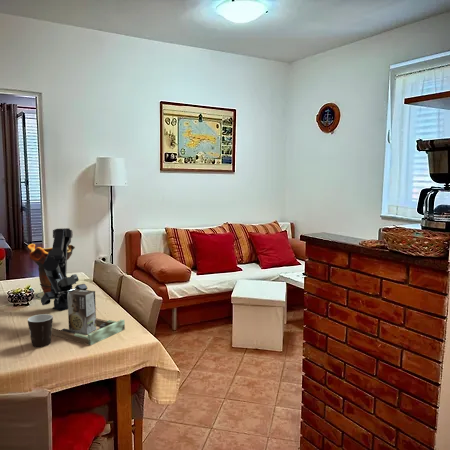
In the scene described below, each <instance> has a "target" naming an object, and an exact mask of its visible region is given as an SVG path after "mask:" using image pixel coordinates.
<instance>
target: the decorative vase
mask: <svg viewBox="0 0 450 450" xmlns="http://www.w3.org/2000/svg"><path fill="white" fill-rule="evenodd" d="M27 249H28V250H29V251H28V252H29V260H31V261H33V262H34V263H35V264H36V265H37V267H38V269H37V270H38V277H39V282H40V283H39V285H40V287H41V288H40V290H39V291H40V292H37V293H35V294H34V295H33V296H34V298H35V299H37V300H41V298H42V297H43V295H44V294H45V292H50V291H51V283H50V281H49V279H48V277H47V275H46V272H45V270H44V267H43V264H44V261H45V259H46V257H47V256H48V252H49V251H51V250H52V247H45V248H44V247H41V246H37V247H36V244H35V243H30V244H28V245H27ZM74 249H76V247H75V246H74V245H72V244H69V245H68V247H67V261H68V260H70V257H71V256H72V255H73V250H74ZM41 290H42V291H41Z"/></svg>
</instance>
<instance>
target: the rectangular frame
mask: <svg viewBox="0 0 450 450" xmlns="http://www.w3.org/2000/svg"><path fill="white" fill-rule="evenodd" d="M97 325H98V326H99V329H96V330H94V331H92V332H90V333H89V334H82V333H75V331H72V330H69V328H62V329H58V328H53V327H52V334H51V336H56V337H59V338H62V339H66V340H70V341H74V342H76V343H81V344H84V345H87V346H92V345H95V344H97V343H99V342H101V341H103V340H105V339H108V338H109V337H112V336H114V335H117V334H118V333H120V332H122V331H125V330H126V326H125V319H120V320H118V321H116V320H111V319H108V320H105V319H101V318H97V317H96V326H97Z"/></svg>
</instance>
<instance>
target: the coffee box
mask: <svg viewBox="0 0 450 450" xmlns="http://www.w3.org/2000/svg"><path fill="white" fill-rule="evenodd" d="M67 299H68V309H67V313H68V314H67V315H68V329H69V330H72V331H75V334H76V333H79V334H82V335H88V334H89V333H92V332H94V331H96V330H97V324H96V318H97V311H96V310H97V309H96V291H95V290H88V289H87V290H79V289H77V290H74V291H72V292H70V293H67Z"/></svg>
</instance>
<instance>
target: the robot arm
mask: <svg viewBox="0 0 450 450" xmlns="http://www.w3.org/2000/svg"><path fill="white" fill-rule="evenodd" d="M52 238H53V243H52V247H51V248H52V250H51V251H49V252H48V256H47V257H46V259H45V261H44V264H43V267H44V270H45V272H46V275H47V277H48V279H49V281H50V283H51V291H50V292H45V294H44V295H43V297H42V298H41V299H40V302H41V305H42V306H47V305H49V304H51V301H52V300H53V299H54V300H53V307H52V310H56V311H64V310H65V311H66V310H68V299H67V293H70V292H72V291H74V290H77V289H79V290H88V286H87V285H86V283H80V284H77V282H79V280H80V279H79V277H78V275H77V274H76V273H74V274H71V275H70V276H68V275H67V271H68V268H67V267H68V266H67V265H68V260H67V247H68V245H71V243H72V238H73V230H72V229H70V228H69V227H67V228H63V227H61V228H55V229H52ZM75 284H77V285H76V286H75V287H74V288H73V285H75Z"/></svg>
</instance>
